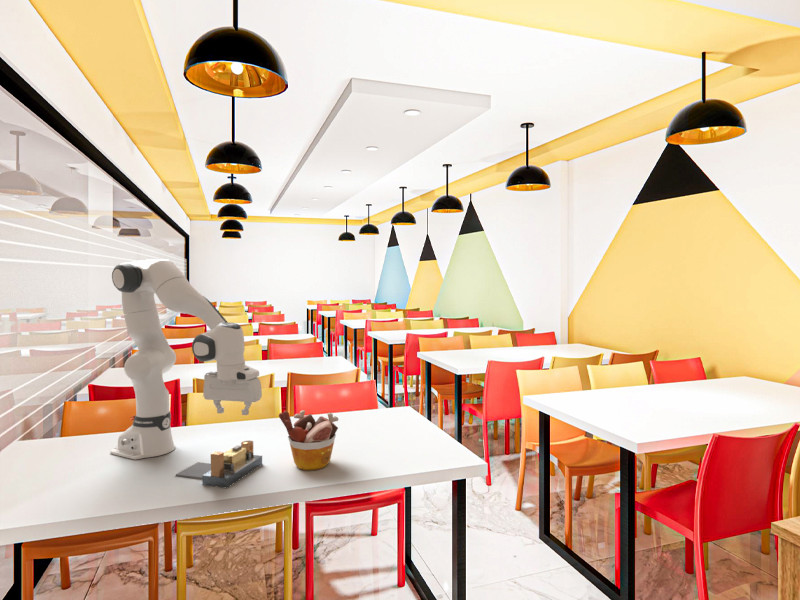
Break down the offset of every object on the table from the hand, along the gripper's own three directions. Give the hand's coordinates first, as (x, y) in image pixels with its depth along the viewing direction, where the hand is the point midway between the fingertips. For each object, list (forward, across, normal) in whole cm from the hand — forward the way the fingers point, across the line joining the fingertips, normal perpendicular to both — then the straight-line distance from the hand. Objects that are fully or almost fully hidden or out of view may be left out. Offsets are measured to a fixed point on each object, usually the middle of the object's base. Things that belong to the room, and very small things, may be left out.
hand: (232, 413), depth 162 cm
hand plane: (+20, 0, 0) cm, 20 cm away
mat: (+20, -12, -1) cm, 23 cm away
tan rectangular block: (+17, 0, 0) cm, 17 cm away
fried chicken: (+21, +20, +14) cm, 32 cm away
